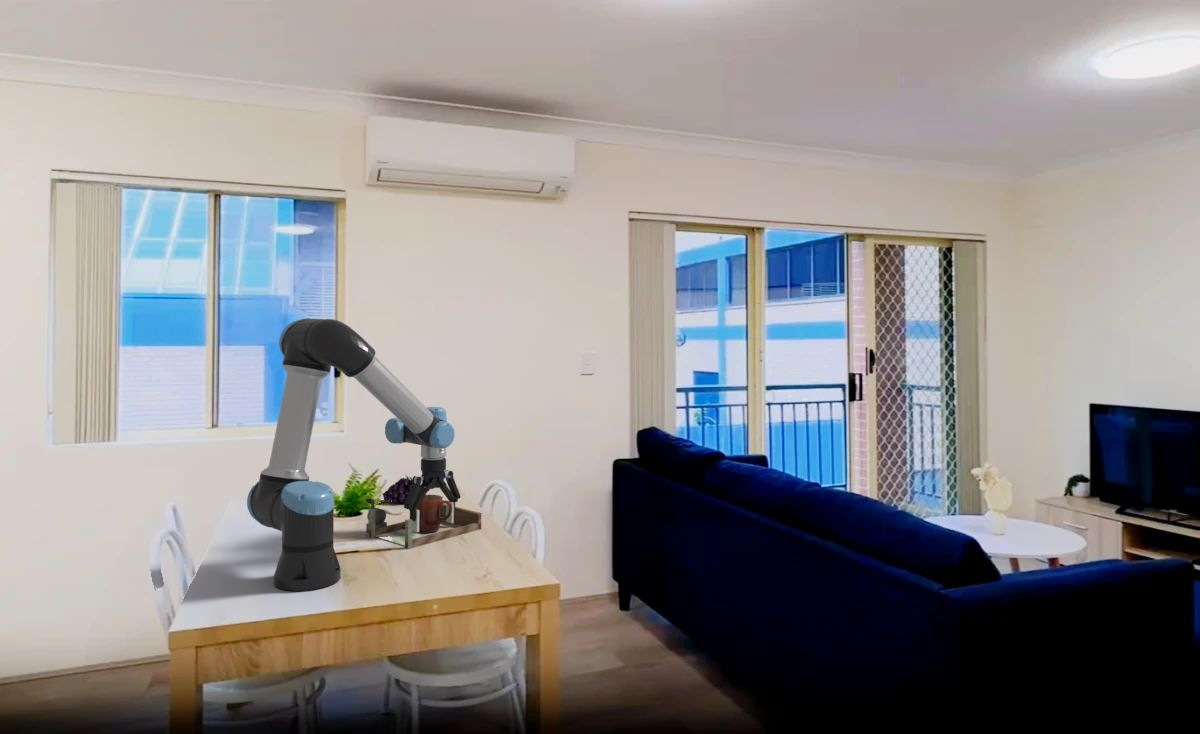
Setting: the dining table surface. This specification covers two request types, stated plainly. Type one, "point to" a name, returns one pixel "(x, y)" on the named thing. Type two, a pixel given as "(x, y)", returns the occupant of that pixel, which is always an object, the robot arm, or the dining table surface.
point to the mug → (431, 513)
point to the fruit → (399, 491)
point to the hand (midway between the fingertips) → (432, 526)
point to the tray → (411, 539)
